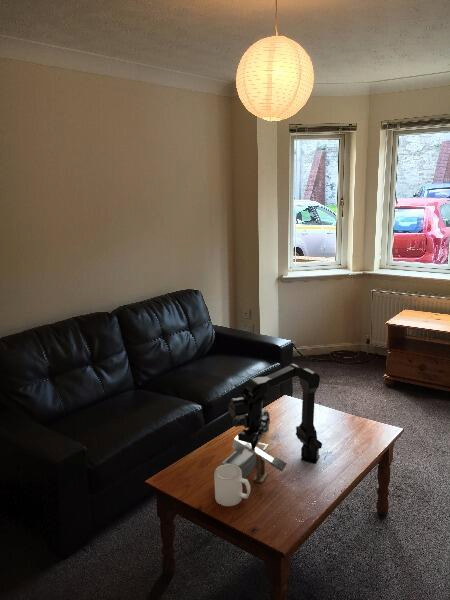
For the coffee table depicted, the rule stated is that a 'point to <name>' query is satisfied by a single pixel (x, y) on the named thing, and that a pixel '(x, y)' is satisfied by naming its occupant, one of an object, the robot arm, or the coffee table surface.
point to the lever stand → (260, 469)
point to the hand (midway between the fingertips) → (253, 448)
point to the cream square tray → (261, 447)
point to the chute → (242, 462)
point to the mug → (229, 485)
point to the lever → (241, 445)
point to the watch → (263, 422)
